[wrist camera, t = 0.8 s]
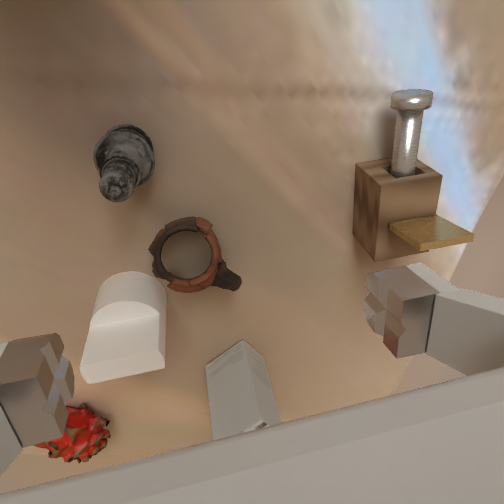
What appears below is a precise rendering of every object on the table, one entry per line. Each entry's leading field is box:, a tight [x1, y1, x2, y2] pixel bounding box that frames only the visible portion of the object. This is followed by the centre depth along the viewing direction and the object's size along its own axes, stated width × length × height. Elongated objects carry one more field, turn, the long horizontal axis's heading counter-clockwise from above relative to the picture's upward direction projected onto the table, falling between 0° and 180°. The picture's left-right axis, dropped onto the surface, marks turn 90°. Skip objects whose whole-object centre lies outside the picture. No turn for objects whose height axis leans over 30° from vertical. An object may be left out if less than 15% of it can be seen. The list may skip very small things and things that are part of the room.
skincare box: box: [205, 340, 282, 441], centre depth 56 cm, size 8×6×15 cm
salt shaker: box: [94, 125, 155, 202], centre depth 37 cm, size 6×6×12 cm
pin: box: [390, 89, 433, 179], centre depth 44 cm, size 16×4×4 cm, turn 6°
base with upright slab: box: [80, 271, 167, 384], centre depth 47 cm, size 9×9×12 cm
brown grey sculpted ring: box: [148, 217, 242, 293], centre depth 48 cm, size 12×10×8 cm
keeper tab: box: [388, 214, 474, 251], centre depth 41 cm, size 7×6×1 cm
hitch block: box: [353, 158, 443, 262], centre depth 47 cm, size 10×7×7 cm
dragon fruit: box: [34, 403, 111, 463], centre depth 60 cm, size 8×8×12 cm
